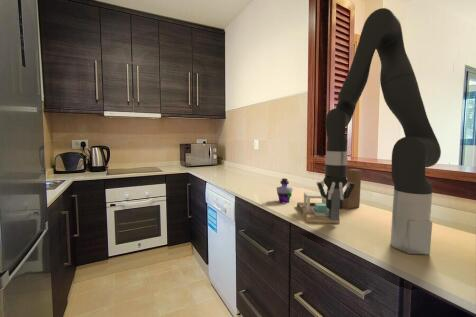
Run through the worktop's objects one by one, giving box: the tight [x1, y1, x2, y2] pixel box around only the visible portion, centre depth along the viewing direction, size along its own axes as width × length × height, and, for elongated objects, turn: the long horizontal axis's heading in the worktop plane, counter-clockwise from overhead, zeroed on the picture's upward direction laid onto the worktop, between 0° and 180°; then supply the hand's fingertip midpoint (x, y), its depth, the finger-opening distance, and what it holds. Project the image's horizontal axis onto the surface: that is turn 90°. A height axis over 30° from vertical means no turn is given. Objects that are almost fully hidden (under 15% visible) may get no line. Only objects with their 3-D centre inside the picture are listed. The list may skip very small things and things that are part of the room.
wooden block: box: [341, 168, 362, 210], centre depth 117 cm, size 9×4×18 cm, turn 118°
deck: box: [296, 201, 341, 224], centre depth 106 cm, size 22×12×2 cm, turn 177°
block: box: [314, 202, 327, 212], centre depth 100 cm, size 4×4×4 cm
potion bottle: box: [276, 178, 293, 204], centre depth 127 cm, size 9×9×12 cm
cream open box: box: [303, 191, 329, 211], centre depth 107 cm, size 7×9×6 cm
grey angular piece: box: [311, 188, 340, 221], centre depth 97 cm, size 11×8×12 cm
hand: (334, 208), depth 93 cm, fingers closed on grey angular piece, 3 cm apart
